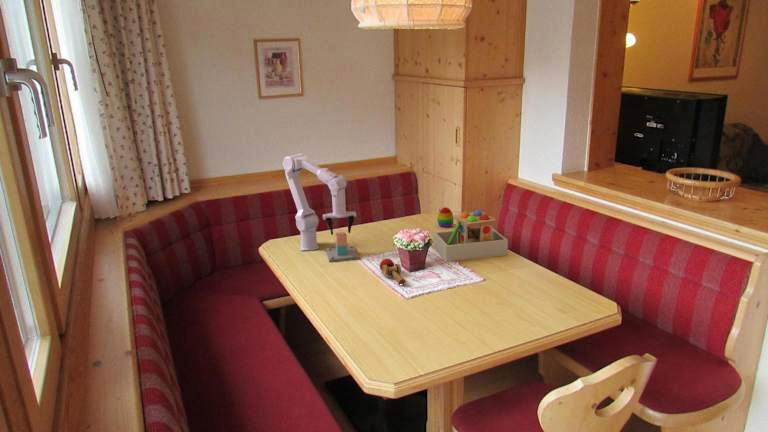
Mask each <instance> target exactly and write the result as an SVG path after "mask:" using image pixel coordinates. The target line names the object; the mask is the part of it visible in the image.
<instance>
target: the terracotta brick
mask: <svg viewBox="0 0 768 432" xmlns="http://www.w3.org/2000/svg"><path fill="white" fill-rule="evenodd" d="M334 235H335V236H334V238H335V245H336V244H337V246H344V245H347V246H348V239H347V237H348V235H347V233H346V230H345V231H344V230H343V231H335V232H334Z"/></svg>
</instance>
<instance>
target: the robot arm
mask: <svg viewBox="0 0 768 432" xmlns="http://www.w3.org/2000/svg"><path fill="white" fill-rule="evenodd" d="M282 167H283V168H284V172H285V173H284V174H285V175H284V176H285V177H286V181H287V183H288V186H289V190H290V191H291V195H292V198H293V201H294V203H295V207H296V210H297V213H296V214H295V217H294V218H295V225H296V228H297V229H298V230H299V232H300V250H301V252H304V251H313V250H315V251H316V250H319V249H320V248H319V245H318V239H317V228H318V226H319V222H320V219H319V216H318V215H317V214H316V212H315V210H314V209H312V208H310V206H309V202H308V201H307V200H308V199H307V197H306V194H305V191H304V189H303V186H302V185H303V184H302V183H301V180H300V173H301V171H302V170H303V169H305V170H307V171H309V172H311V173H312V174H314V175H316V177H317V180H319V181H321V182H322V183H323V184H325V185H327V186H328V188H329V190H330V194H331V201H332V203H331V204H332V212H329V213H325V214H322V219H323V220H324V221H326V223H327V226H328V227H329V230H330V235H332V236H333V235H334V230H333V219H341V218H347V219H346V220H347V233H348V234H351V231H352V230H351V229H352V226H353V223H354V221H355V218H357V212H356V211H347V209H346V207H347V206H346V204H347V203H346V190H345V189H346V188H347V186H348V180H347V178H346V177H345V176H343V175H337V174H336V173H334V172H332V171H330V169H329V168H327V167H323V168H322V167H320V166H319V165H317V164H315V162H313V161H312V160H311V159H309V157H308V155H306V154H304V153H300V152H299V153H298V154H293V155H290V156H289V155H288V156H285V157H284V159H283V161H282Z"/></svg>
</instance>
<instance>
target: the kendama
mask: <svg viewBox="0 0 768 432" xmlns="http://www.w3.org/2000/svg"><path fill="white" fill-rule="evenodd" d="M379 269H380V271H381V274H382V276H384V277H386V276H388V275H390V274H391V275H392V276H393V278H394V279H395V281H396V282H397V284H398V285H399V286H400V284H404V283H405V284H406V282H407V281H406V279H405V278H403V277H402V276H401V273H402V267H401V264H400V263H394V261H393V260H392V259H391V258H384V259H382V260H381V261H380V262H379Z"/></svg>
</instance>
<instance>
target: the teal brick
mask: <svg viewBox="0 0 768 432" xmlns="http://www.w3.org/2000/svg"><path fill="white" fill-rule="evenodd" d="M347 247H348V244H347V245H344V246H337V244H336V243H335V248H336V252H337V255H348V254H347Z"/></svg>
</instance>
